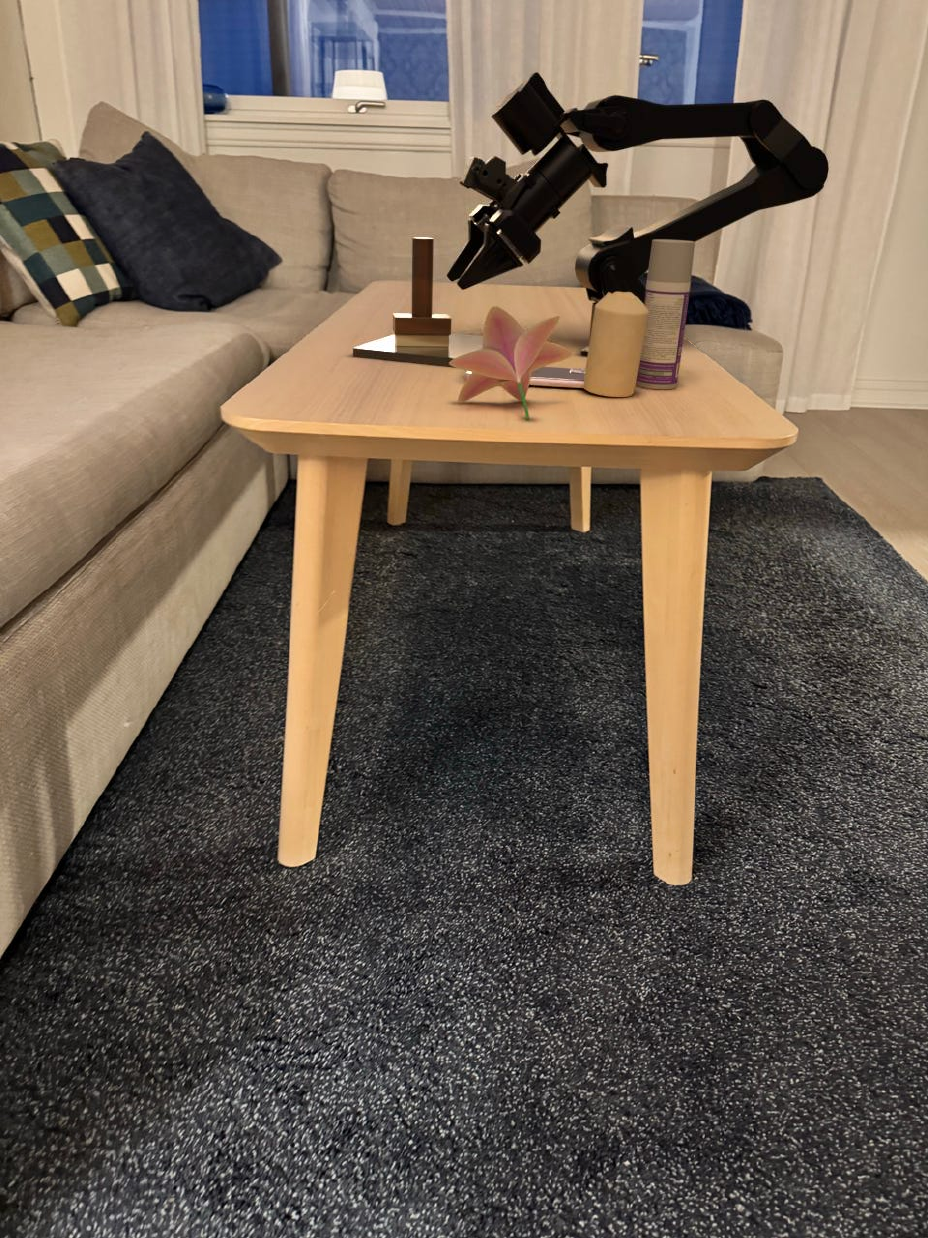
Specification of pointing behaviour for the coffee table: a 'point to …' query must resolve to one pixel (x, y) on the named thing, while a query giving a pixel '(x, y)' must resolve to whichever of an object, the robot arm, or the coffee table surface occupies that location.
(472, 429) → the coffee table surface
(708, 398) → the coffee table surface
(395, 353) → the panel
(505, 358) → the lily
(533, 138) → the robot arm
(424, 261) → the brush
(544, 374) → the mobile phone
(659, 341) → the container
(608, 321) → the candle
